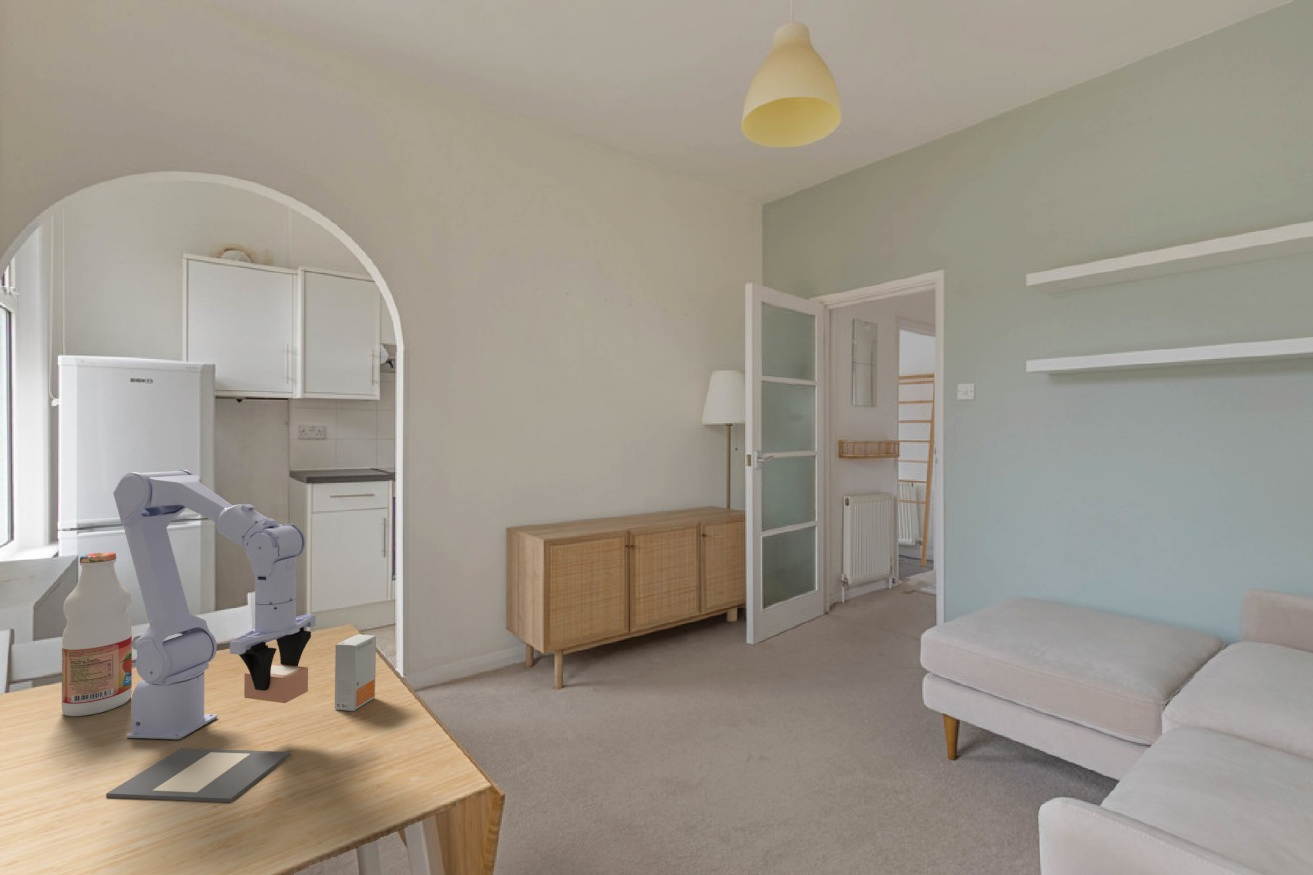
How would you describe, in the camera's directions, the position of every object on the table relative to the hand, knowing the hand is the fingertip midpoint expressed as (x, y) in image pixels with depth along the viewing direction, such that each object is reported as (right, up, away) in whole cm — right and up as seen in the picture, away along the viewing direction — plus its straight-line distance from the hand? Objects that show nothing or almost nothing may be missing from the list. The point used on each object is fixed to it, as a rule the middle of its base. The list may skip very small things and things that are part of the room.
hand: (275, 682), depth 97 cm
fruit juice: (-41, -10, +12) cm, 44 cm away
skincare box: (+6, -10, +13) cm, 18 cm away
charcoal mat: (-4, -9, -10) cm, 14 cm away
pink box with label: (0, -2, 0) cm, 2 cm away
